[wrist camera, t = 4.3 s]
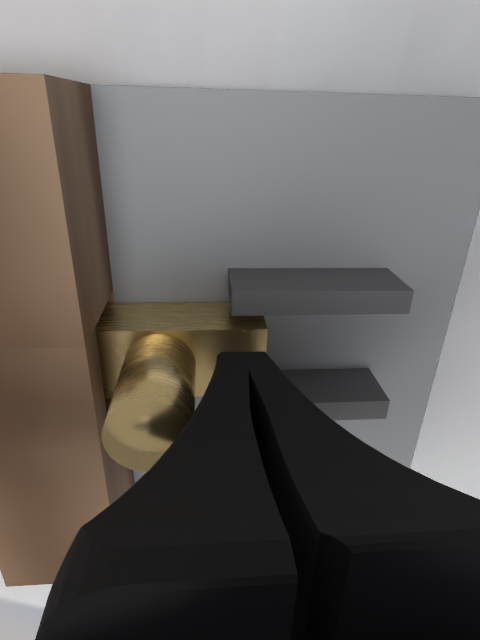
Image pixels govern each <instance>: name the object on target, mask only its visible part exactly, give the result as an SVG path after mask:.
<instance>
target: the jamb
mask: <svg viewBox="0 0 480 640" xmlns="http://www.w3.org/2000/svg"><path fill="white" fill-rule="evenodd" d="M107 303H115V302H114V293H113V284H112V275H111V266H110V257H109V248H108V239H107V230H106V221H105V212H104V203H103V194H102V185H101V176H100V167H99V158H98V149H97V140H96V131H95V122H94V113H93V104H92V95H91V87H90V84H85V83H81V82H76V81H71V80H67V79H62V78H58V77H53V76H49V75H44V74H17V73H0V570H1V573H2V576H3V579H4V582H5V585H6V586H23V585H39V584H53V583H54V580H55V578H56V576H57V573H58V571H59V569H60V567H61V564H62V562H63V560H64V558H65V556H66V554H67V552H68V550H69V548H70V546H71V544H72V542H73V540H74V538H75V536H76V534H77V533H78V531H79V529H80V528H81V527H82V526H83V525H84V524H86V523H87V522H89V521H90V520H92V519H93V518H94V517H95V516H97V515H98V514H99V513H100V512H102V511H103V510H104V509H106V508H107V507H108V506H109V505H111V504H112V503H113V502H115V501H116V500H117V499H118V498H119V497H121V496H122V495H123V494H124V493H125V492H126V491H127V490H128V489H129V488H130V487H131V486H133V485H134V484H135V481H134V472H133V470H132V469H129V468H126V467H124V466H122V465H120V464H118V463H117V462H116V461H114V460H113V459H112V458H111V457H110V456H109V454H108V453H107V452H106V450H105V448H104V446H103V442H102V429H103V426H104V422H105V419H106V416H107V413H108V410H109V406H110V403H111V400H112V399H105V397H104V390H103V383H102V375H101V368H100V361H99V353H98V346H97V339H96V332H95V326H96V324H97V322H98V320H99V318H100V316H101V314H102V312H103V310H104V308H105V306H106V304H107Z"/></svg>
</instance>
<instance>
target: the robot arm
mask: <svg viewBox="0 0 480 640" xmlns="http://www.w3.org/2000/svg"><path fill="white" fill-rule="evenodd" d="M35 640H480V500H479V499H477V498H474V497H472V496H469V495H467V494H465V493H462V492H460V491H457V490H455V489H453V488H450V487H448V486H445V485H443V484H441V483H438V482H436V481H434V480H432V479H430V478H428V477H426V476H424V475H422V474H420V473H418V472H416V471H414V470H412V469H410V468H408V467H406V466H404V465H402V464H400V463H398V462H397V461H395V460H393V459H391V458H389V457H387V456H386V455H384V454H382V453H381V452H379V451H378V450H376V449H374V448H373V447H371V446H369V445H368V444H366V443H364V442H363V441H361V440H360V439H358V438H357V437H355V436H354V435H352V434H351V433H350V432H348V431H347V430H346V429H344V428H343V427H342V426H340V425H339V424H337V423H336V422H335V421H333V420H332V419H331V418H330V417H328V416H327V415H326V414H325V413H324V412H322V411H321V410H320V409H319V408H318V407H317V406H316V405H314V404H313V403H312V402H311V401H310V400H309V399H308V398H307V397H306V396H305V395H304V394H303V393H302V392H301V391H300V390H299V389H298V388H297V387H296V386H295V385H294V384H293V383H292V382H291V381H290V380H289V379H288V377H287V376H286V375H285V374H284V373H283V372H282V371H281V370H280V368H279V367H278V366H277V365H276V364H275V363H274V361H273V360H272V359H271V358H270V357H269V355H268V354H267V353H266V352H265V351H254V352H221V353H220V354H218V355H217V361H216V366H215V369H214V372H213V375H212V378H211V380H210V382H209V385H208V387H207V389H206V391H205V393H204V395H203V397H202V399H201V401H200V403H199V404H198V406H197V408H196V410H195V411H194V413H193V415H192V416H191V418H190V420H189V421H188V423H187V424H186V426H185V427H184V428H183V430H182V431H181V433H180V434H179V435H178V437H177V438H176V439H175V441H174V442H173V443H172V444H171V446H170V447H169V448H168V449H167V450H166V451H165V453H164V454H163V455H162V456H161V457H160V459H159V460H158V461H157V462H156V463H155V464H154V465H153V466H152V467H151V468H150V469H149V470H148V471H147V472H146V473H145V474H144V475H143V476H142V477H141V478H140V479H139V480H138V481H137V482H136V483H135V484H134V485H133V486H131V487H130V488H129V489H128V490H127V491H126V492H125V493H124V494H123V495H122V496H121V497H119V498H118V499H117V500H116V501H115V502H113V503H112V504H111V505H109V506H108V507H107V508H106V509H104V510H103V511H102V512H100V513H99V514H98V515H97V516H95V517H94V518H93V519H92V520H90V521H89V522H87V523H86V524H84V525H83V526H82V527H81V528H80V529H79V531H78V533H77V534H76V536H75V538H74V540H73V542H72V544H71V546H70V548H69V550H68V552H67V554H66V556H65V558H64V560H63V562H62V564H61V567H60V569H59V571H58V573H57V576H56V578H55V580H54V583H53V585H52V588H51V591H50V593H49V596H48V600H47V603H46V606H45V609H44V613H43V616H42V619H41V622H40V626H39V629H38V632H37V636H36V639H35Z"/></svg>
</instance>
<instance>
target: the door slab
mask: <svg viewBox="0 0 480 640" xmlns="http://www.w3.org/2000/svg"><path fill="white" fill-rule="evenodd" d="M90 87H91V95H92V104H93V113H94V122H95V131H96V140H97V149H98V158H99V167H100V176H101V185H102V194H103V203H104V212H105V221H106V230H107V239H108V248H109V257H110V266H111V275H112V284H113V293H114V302H115V303H167V302H230V307H231V314H232V316H263V315H264V318H265V322H266V325H267V328H268V334H267V350H266V353H267V354H268V355H269V357H270V358H271V359H272V360H273V361H274V363H275V364H276V365H277V366H278V367H279V368H280V370H281V371H282V372H283V373H284V374H285V375H286V376H287V377H288V379H289V380H290V381H291V382H292V383H293V384H294V385H295V386H296V387H297V388H298V389H299V390H300V391H301V392H302V393H303V394H304V395H305V396H306V397H307V398H308V399H309V400H310V401H311V402H312V403H313V404H314V405H316V406H317V407H318V408H319V409H320V410H321V411H322V412H324V413H325V414H326V415H327V416H328V417H330V418H331V419H332V420H333V421H335V422H336V423H337V424H339V425H340V426H342V427H343V428H344V429H346V430H347V431H348V432H350V433H351V434H352V435H354V436H355V437H357V438H358V439H360V440H361V441H363V442H364V443H366V444H368V445H369V446H371V447H373V448H374V449H376V450H378V451H379V452H381V453H382V454H384V455H386V456H387V457H389V458H391V459H393V460H395V461H397V462H398V463H400V464H402V465H404V466H406V467H408V468H410V466H411V462H412V459H413V455H414V451H415V447H416V444H417V440H418V436H419V432H420V429H421V425H422V421H423V417H424V414H425V410H426V406H427V402H428V399H429V395H430V391H431V387H432V384H433V380H434V376H435V372H436V369H437V365H438V361H439V357H440V354H441V350H442V346H443V342H444V339H445V335H446V331H447V327H448V324H449V320H450V316H451V312H452V309H453V305H454V301H455V297H456V294H457V290H458V286H459V282H460V279H461V275H462V271H463V267H464V264H465V260H466V256H467V252H468V249H469V245H470V241H471V237H472V234H473V230H474V226H475V222H476V219H477V215H478V211H479V207H480V97H452V96H422V95H391V94H361V93H330V92H299V91H269V90H238V89H208V88H177V87H147V86H116V85H90ZM202 397H203V396H195V410H196V408H197V406H198V404H199V403H200V401H201V399H202ZM133 472H134V481H135V483H136V482H137V481H138V480H139V479H140V478H141V477H142V476H143V475H144V474H145V473H146V472H140V471H135V470H133Z"/></svg>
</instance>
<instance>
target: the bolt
mask: <svg viewBox="0 0 480 640" xmlns="http://www.w3.org/2000/svg"><path fill="white" fill-rule="evenodd" d="M95 332H96V339H97V346H98V353H99V361H100V368H101V375H102V383H103V390H104V397H105V399H112V400H111V403H110V406H109V410H108V413H107V416H106V419H105V422H104V426H103V429H102V442H103V446H104V448H105V450H106V452H107V453H108V454H109V456H110V457H111V458H112V459H113V460H114V461H116V462H117V463H118V464H120V465H122V466H124V467H126V468H129V469H132V470H135V471H140V472H147V471H148V470H149V469H150V468H151V467H152V466H153V465H154V464H155V463H156V462H157V461H158V460H159V459H160V457H161V456H162V455H163V454H164V453H165V451H166V450H167V449H168V448H169V447H170V446H171V444H172V443H173V442H174V441H175V439H176V438H177V437H178V435H179V434H180V433H181V431H182V430H183V428H184V427H185V426H186V424H187V423H188V421H189V420H190V418H191V416H192V415H193V413H194V411H195V396H203V395H204V393H205V391H206V389H207V387H208V385H209V382H210V380H211V378H212V375H213V372H214V369H215V366H216V361H217V355H218V354H220V353H221V352H254V351H265V352H266V350H267V334H268V328H267V325H266V322H265V318H264V315H263V316H232V314H231V307H230V302H167V303H107V304H106V306H105V308H104V310H103V312H102V314H101V316H100V318H99V320H98V322H97V324H96V326H95Z"/></svg>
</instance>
